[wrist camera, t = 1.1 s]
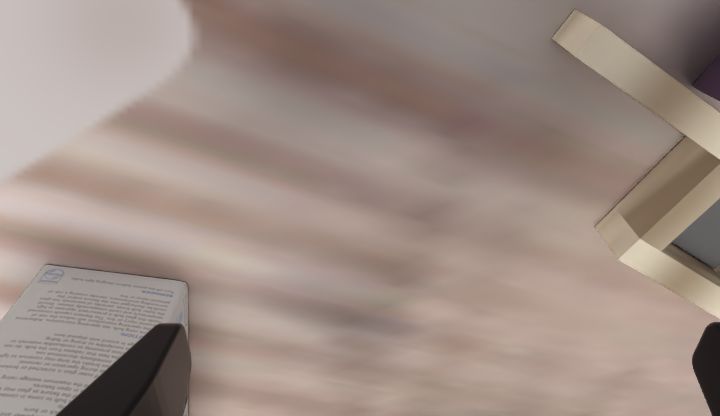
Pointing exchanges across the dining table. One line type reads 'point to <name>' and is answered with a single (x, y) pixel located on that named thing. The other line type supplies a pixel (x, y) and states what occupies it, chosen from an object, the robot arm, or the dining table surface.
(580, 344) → the dining table surface
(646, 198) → the trap lane
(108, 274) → the light bulb box
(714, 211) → the mats
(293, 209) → the dining table surface
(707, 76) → the purple monster board
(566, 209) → the dining table surface
